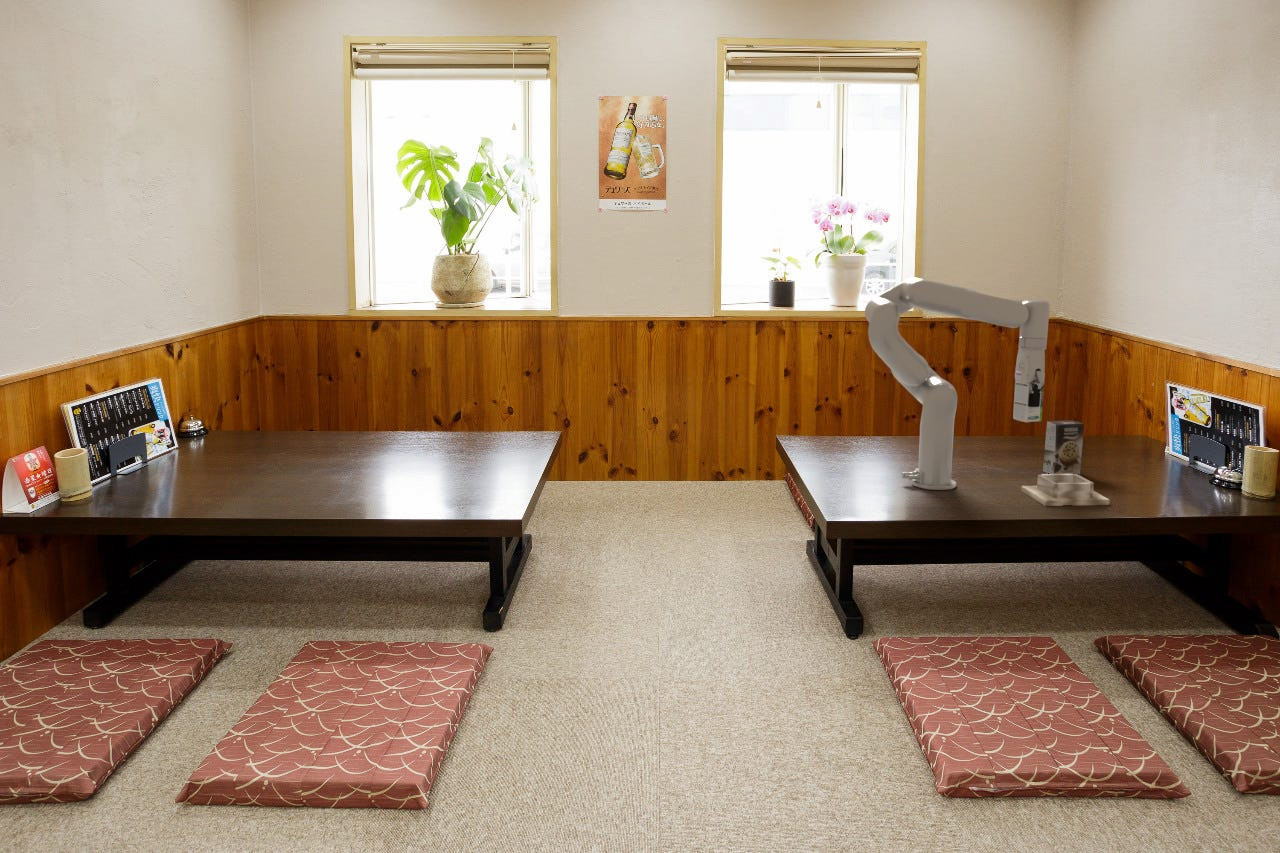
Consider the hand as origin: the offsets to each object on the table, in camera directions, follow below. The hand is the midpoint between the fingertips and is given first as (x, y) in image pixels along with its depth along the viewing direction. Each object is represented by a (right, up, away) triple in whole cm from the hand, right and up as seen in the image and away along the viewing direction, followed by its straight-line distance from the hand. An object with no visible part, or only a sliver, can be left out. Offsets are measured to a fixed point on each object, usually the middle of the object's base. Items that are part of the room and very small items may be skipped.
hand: (1028, 403), depth 300 cm
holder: (+7, -27, -9) cm, 29 cm away
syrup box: (0, -5, +1) cm, 5 cm away
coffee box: (+18, -21, +19) cm, 34 cm away
